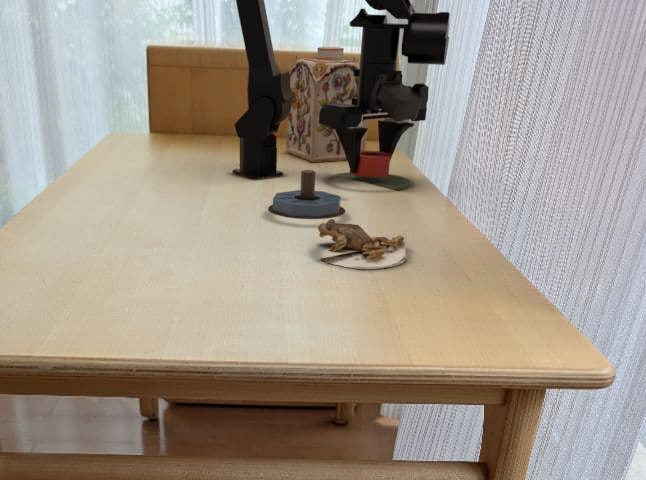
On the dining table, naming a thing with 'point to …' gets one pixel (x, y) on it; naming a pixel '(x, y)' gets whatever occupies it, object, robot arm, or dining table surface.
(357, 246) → the frog figurine
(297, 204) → the bottom ring
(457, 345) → the dining table surface
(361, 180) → the mat
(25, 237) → the dining table surface
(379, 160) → the top ring
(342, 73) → the decorative jar
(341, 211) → the stacker
